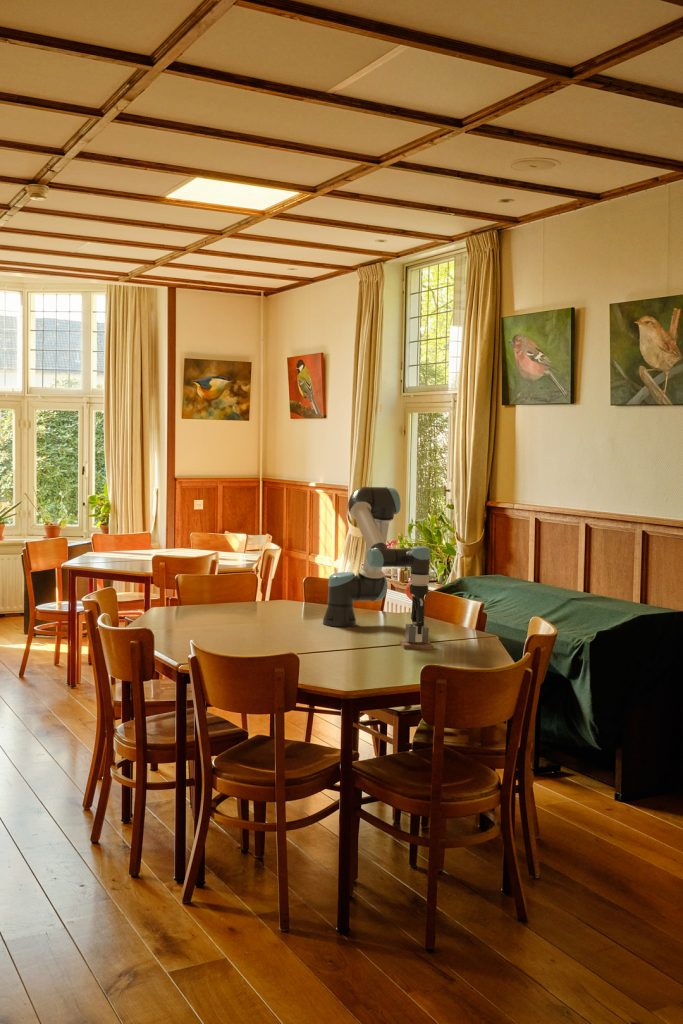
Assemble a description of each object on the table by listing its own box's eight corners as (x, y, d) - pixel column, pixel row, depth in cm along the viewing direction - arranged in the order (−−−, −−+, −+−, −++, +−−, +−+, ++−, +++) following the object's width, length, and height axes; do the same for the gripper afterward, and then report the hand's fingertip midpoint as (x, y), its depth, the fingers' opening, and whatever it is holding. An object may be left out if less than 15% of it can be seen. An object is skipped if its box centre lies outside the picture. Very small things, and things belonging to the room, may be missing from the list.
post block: (399, 643, 414) (400, 622, 413) (427, 643, 415) (428, 623, 415) (404, 649, 402) (405, 628, 402) (433, 649, 404) (434, 628, 403)
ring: (405, 638, 412) (405, 623, 412) (424, 638, 413) (424, 624, 413) (408, 642, 404) (409, 627, 404) (428, 642, 405) (428, 627, 405)
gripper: (405, 580, 417) (402, 634, 418) (414, 587, 396) (412, 644, 398) (423, 581, 418) (420, 635, 419) (433, 588, 397) (430, 645, 399)
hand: (416, 639), depth 409 cm, fingers closed on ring, 8 cm apart
